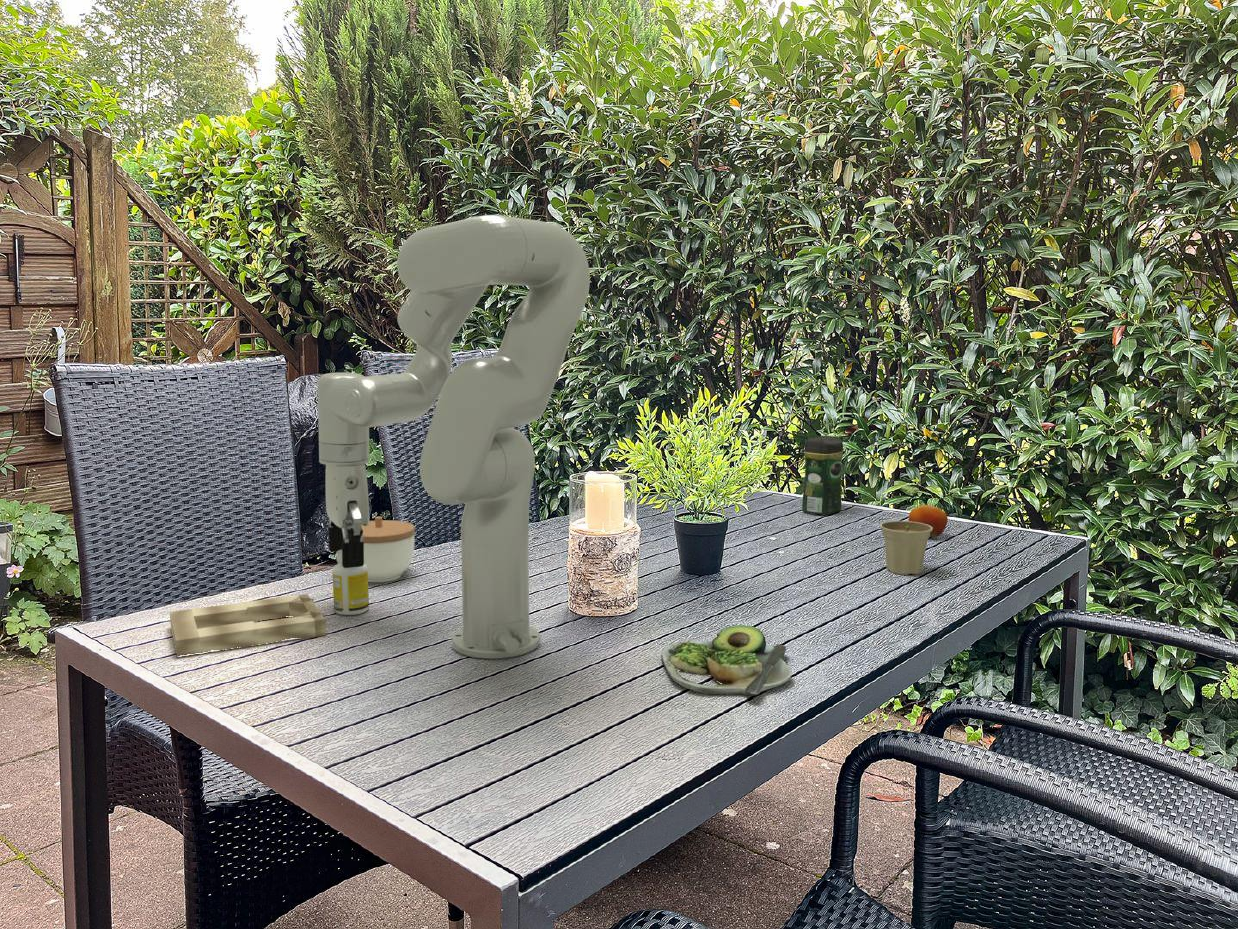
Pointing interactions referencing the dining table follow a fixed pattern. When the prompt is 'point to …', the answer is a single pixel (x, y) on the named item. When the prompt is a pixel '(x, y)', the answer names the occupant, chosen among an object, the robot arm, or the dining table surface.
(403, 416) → the robot arm
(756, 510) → the dining table surface
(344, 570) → the supplement bottle
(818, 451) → the coffee jar
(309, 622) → the beige flat rectangular frame
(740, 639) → the avocado toast plate
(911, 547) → the flower pot
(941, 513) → the fruit
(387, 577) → the lidded bowl
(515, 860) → the dining table surface
